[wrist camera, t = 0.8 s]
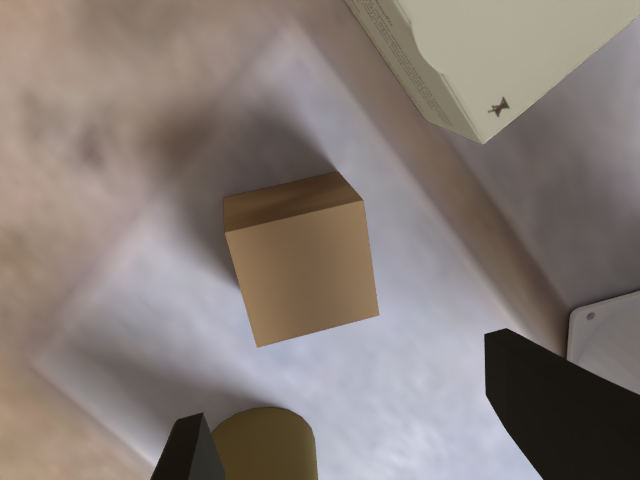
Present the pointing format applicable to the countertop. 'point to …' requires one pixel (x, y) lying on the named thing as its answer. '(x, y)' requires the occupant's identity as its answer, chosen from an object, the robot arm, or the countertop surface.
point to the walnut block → (301, 257)
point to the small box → (486, 52)
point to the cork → (266, 446)
